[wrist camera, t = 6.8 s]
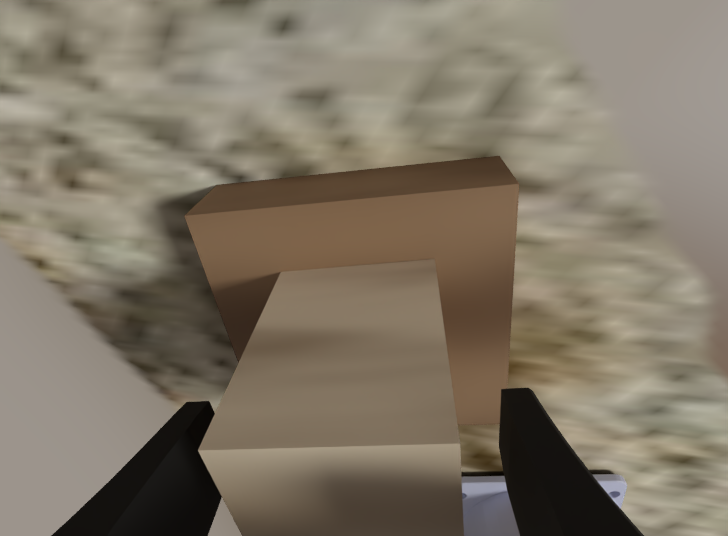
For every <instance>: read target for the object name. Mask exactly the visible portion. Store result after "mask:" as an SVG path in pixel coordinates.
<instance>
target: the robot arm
mask: <svg viewBox="0 0 728 536" xmlns="http://www.w3.org/2000/svg"><path fill="white" fill-rule="evenodd" d="M214 415H215V413H214V411H213V409H212V406H211V404H210V402H209V401H201V402H186V403H185V404H184V405H183V406H182V407H181V408H180V409H179V410H178V411H177V412H176V413H175V414H174V415H173V416H172V418H171V419H170V420H169V421H168V422H167V423H166V424H165V425H164V426H163V427H162V428H161V429H160V430H159V431H158V432H157V433H156V434H155V435H154V436H153V437H152V438H151V439H150V440H149V441H148V442H147V443H146V444H145V446H144V447H143V448H142V449H141V450H140V451H139V452H138V453H137V454H136V455H135V456H134V457H133V458H132V459H131V460H130V461H129V462H128V463H127V464H126V465H125V466H124V467H123V468H122V469H121V470H120V471H119V472H118V473H117V474H116V475H115V476H114V477H113V478H112V479H111V480H110V481H109V482H108V483H107V484H106V485H105V486H104V487H103V488H102V489H101V490H100V491H99V492H98V493H96V495H94V496H93V497H92V498H91V499H90V500H89V501H88V502H87V503H86V504H85V505H84V506H83V507H82V508H81V509H80V510H79V511H78V512H77V513H76V514H75V515H74V516H72V517H71V518H70V519H69V520H68V521H67V522H66V523H65V524H64V525H63V526H62V527H60V528H59V529H58V530H57V531H56V532H55V533H54V534H53V535H52V536H208V533H209V530H210V528H211V525H212V522H213V520H214V517H215V514H216V511H217V509H218V506H219V503H220V500H221V497H222V496H221V494H220V492H219V490H218V488H217V486H216V484H215V482H214V481H213V479H212V477H211V475H210V473H209V471H208V469H207V467H206V465H205V463H204V461H203V460H202V458H201V456H200V454H199V452H198V449H199V447H200V445H201V443H202V440H203V438H204V436H205V434H206V432H207V430H208V428H209V425H210V423H211V421H212V419H213V417H214ZM499 449H500V454H501V460H502V465H503V471H504V476H462V501H463V524H464V536H644V535H643V534H642V533H641V532H640V531H639V530H638V528H637V527H636V526H635V525H634V524H633V523H632V522H631V521H630V519H629V518H628V517H627V516H626V515H625V514H624V512H623V511H622V510H621V506H622V502H623V499H624V496H625V492H626V489H627V484H626V482H625V479H624V478H623V477H622V476H620V475H618V474H591V472H590V471H589V470H588V469H587V467H586V466H585V465H584V463H583V462H582V461H581V460H580V458H579V457H578V456H577V455H576V453H575V452H574V451H573V449H572V448H571V447H570V445H569V444H568V442H567V441H566V440H565V438H564V437H563V436H562V434H561V433H560V431H559V430H558V429H557V427H556V426H555V424H554V423H553V421H552V420H551V419H550V417H549V416H548V414H547V413H546V411H545V410H544V408H543V406H542V405H541V403H540V402H539V400H538V399H537V397H536V395H535V394H534V392H533V391H532V390H531V389H529V388H513V389H501V406H500V433H499Z"/></svg>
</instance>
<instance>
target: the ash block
mask: <svg viewBox="0 0 728 536" xmlns="http://www.w3.org/2000/svg"><path fill="white" fill-rule="evenodd" d="M198 452H199V454H200V456H201V458H202V460H203V461H204V463H205V465H206V467H207V469H208V471H209V473H210V475H211V477H212V479H213V481H214V482H215V484H216V486H217V488H218V490H219V492H220V494H221V496H222V498H223V500H224V502H225V504H226V505H227V507H228V509H229V511H230V513H231V515H232V517H233V519H234V521H235V523H236V525H237V526H238V528H239V530H240V532H241V534H242V536H464V524H463V501H462V477H461V454H460V439H459V432H458V425H457V418H456V410H455V403H454V396H453V388H452V381H451V374H450V367H449V359H448V352H447V345H446V337H445V330H444V323H443V316H442V308H441V301H440V294H439V287H438V279H437V272H436V265H435V259H428V260H417V261H405V262H393V263H381V264H370V265H358V266H346V267H334V268H323V269H311V270H299V271H287V272H281V273H280V275H279V277H278V279H277V281H276V284H275V286H274V288H273V290H272V292H271V294H270V296H269V299H268V301H267V303H266V305H265V307H264V309H263V311H262V314H261V316H260V318H259V320H258V322H257V324H256V327H255V329H254V331H253V333H252V335H251V337H250V339H249V342H248V344H247V346H246V348H245V350H244V352H243V354H242V357H241V359H240V361H239V363H238V365H237V367H236V369H235V372H234V374H233V376H232V378H231V380H230V382H229V385H228V387H227V389H226V391H225V393H224V395H223V397H222V400H221V402H220V404H219V406H218V408H217V410H216V412H215V415H214V417H213V419H212V421H211V423H210V425H209V428H208V430H207V432H206V434H205V436H204V438H203V440H202V443H201V445H200V447H199V449H198Z"/></svg>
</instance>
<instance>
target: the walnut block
mask: <svg viewBox="0 0 728 536" xmlns="http://www.w3.org/2000/svg"><path fill="white" fill-rule="evenodd" d="M518 195H519V183H518V182H517V180H516V179H515V177H514V176H513V174H512V173H511V172H510V170H509V169H508V167H507V166H506V165H505V163H504V162H503V160H502V159H501V158H500V156H493V157H483V158H474V159H464V160H454V161H444V162H435V163H425V164H415V165H406V166H396V167H386V168H377V169H367V170H357V171H348V172H338V173H328V174H318V175H309V176H299V177H289V178H280V179H270V180H260V181H251V182H241V183H231V184H221V185H216V186H215V187H214V188H213V189H212V190H211V191H210V192H209V193H208V194H207V195H206V196H205V197H204V198H203V199H201V200H200V201H199V202H198V203H197V204H196V205H195V206H194V207H193V208H192V209H191V210H190V211H189V212H188V213H187V214H186V215H185V216H184V217H185V219H186V222H187V225H188V228H189V230H190V233H191V236H192V238H193V241H194V244H195V246H196V249H197V252H198V255H199V257H200V260H201V263H202V265H203V268H204V271H205V274H206V276H207V279H208V282H209V284H210V287H211V290H212V292H213V295H214V298H215V301H216V303H217V306H218V309H219V311H220V314H221V317H222V319H223V322H224V325H225V328H226V330H227V333H228V336H229V338H230V341H231V344H232V347H233V349H234V352H235V355H236V357H237V360H238V363H239V361H240V359H241V357H242V354H243V352H244V350H245V348H246V346H247V344H248V342H249V339H250V337H251V335H252V333H253V331H254V329H255V327H256V324H257V322H258V320H259V318H260V316H261V314H262V311H263V309H264V307H265V305H266V303H267V301H268V299H269V296H270V294H271V292H272V290H273V288H274V286H275V284H276V281H277V279H278V277H279V275H280V273H281V272H287V271H299V270H311V269H323V268H334V267H346V266H358V265H370V264H381V263H393V262H405V261H417V260H428V259H435V265H436V272H437V279H438V287H439V294H440V301H441V308H442V316H443V323H444V330H445V337H446V345H447V352H448V359H449V367H450V374H451V381H452V388H453V396H454V403H455V410H456V418H457V425H487V424H500V406H501V389H507V383H508V366H509V349H510V332H511V315H512V298H513V281H514V263H515V246H516V229H517V212H518Z"/></svg>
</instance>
